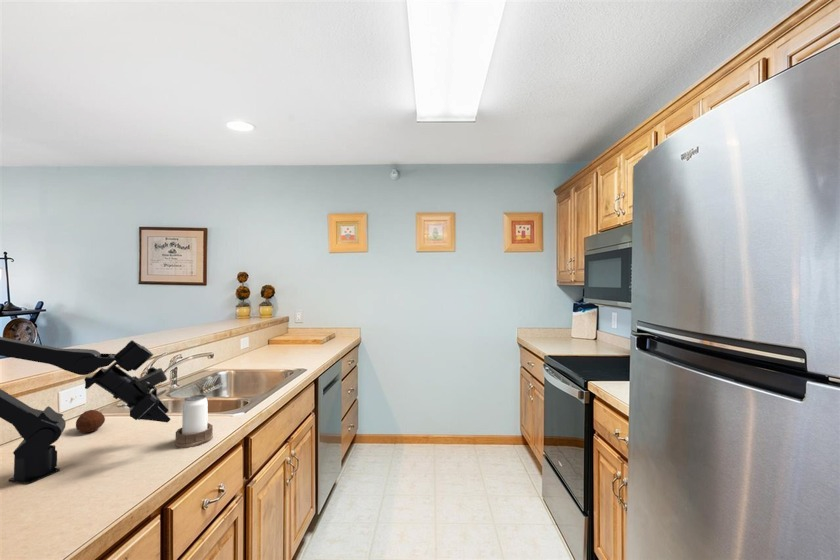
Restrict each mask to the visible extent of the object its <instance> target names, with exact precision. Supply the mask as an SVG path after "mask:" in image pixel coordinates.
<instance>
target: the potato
mask: <svg viewBox="0 0 840 560" xmlns="http://www.w3.org/2000/svg"><path fill="white" fill-rule="evenodd" d="M105 421H106V417H105V415H104V414H103V413H102V412H100V411H98V410H96V409H90V410H85V411H84V412H82V413H81V414H80V415H79V416H78V418H77V419H76V422H75V428H76V430H77V431H78V432H79V433H84V434H87V433H91V432H93V431H97V430H98V429H100V428H101V427H102V426H103V425H104V424H105Z"/></svg>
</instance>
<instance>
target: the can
mask: <svg viewBox="0 0 840 560" xmlns="http://www.w3.org/2000/svg"><path fill="white" fill-rule="evenodd" d="M208 408H209V406H208V399H207V396H206V395H205V394H194V395H190V396H187V397H184V401H183V403H182V414H181V415H182V421H181V425H182V426H181V428H182V434H186V435H187V434H195V433H199V432H202V431H205V430H207V423H208V418H209V417H208V414H209V413H208V412H209V411H208Z"/></svg>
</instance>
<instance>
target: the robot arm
mask: <svg viewBox="0 0 840 560" xmlns="http://www.w3.org/2000/svg"><path fill="white" fill-rule="evenodd" d="M0 356H1V357H6V358H7V357H8V358H12V359H17V360H24V361H30V362H37V363H42V364H47V365H51V366H53V367H57V368H59V369H61V370H64V371H66V372H69V373H73V374H76V375H79V376H85V377H84V383H85V385H84V390H85V389H89V388H90V387H91V386H93V385H94V384H95V385H97V386H99V387H100V388H102V389H104V390H105V391H106V392H108V393H110V394H111V395H112V397H113V398H114V399H115V400H117V399H119V400H120V401H121V402H123V403H124V404H126V407H128V408H129V417H130V418H132V419H133V420H135V421H137V420H139V421H140V420H143V421H152V422H161V423H169V422H170V421H171V417H169V415H168V414H167V413H168V412H169V409H168V407H166V405H165V404H164V403H163V402H162V400H160V398H159V397H158V396H157V395H158V390H157V387H156V386H157V385H159V384H162V383H164V382H166V381H167V380H168V377H167V375H166V373H165V372H164V370H163V369H162V368H161V367H159V368H156V367H154V366H151V367H149V368H148V369H147V372H146V374H145V375H143V376H142V377H140V378H139V377H137V376H136V375H135V376H131V375H130V374H128V373H127V372H131V371H134V372H136V371H137V370H138V369H139V368H140V367H141V366H143V365H144V364H145V363H146V362H147V361H149V359H151V358H152V357H153V356H154V353H152V352H151V351H150V350H149V349H148V348H147V347H145V346H144V345H141V344H139V343H138V342H136V341H134V340H133V339H132V340H130V341H129V342H127V344H126V345H125V346H124V347H122V348H121V349H120V350H119V351H118V352H116V353H100V352H99V351H98V350H97V349H88V348H87V349H86V348H63V347H62V348H60V347H54V346H50V345H45V344H40V343H34V342H30V341H24V340H18V339H13V338H7V337H3V336H0ZM105 367H107V368H105ZM98 369H99V370H98ZM94 372H95V373H94ZM93 373H94V374H93ZM90 374H93V375H91V376H88V375H90ZM63 417H64V414H63V413H59V412H57V411H55V410H54V409H53V408H52V407H50V406H49V405H48V406H47V407H45V408H44V410H42V409H37V408H32V407H31V406H29V405H28V404H26V403H25V402H23V401H21V400H20V399H18V398H16V397H15V396H14V395H11V394H9V393H8V392H6V391H5V390H3V389H1V388H0V418H1V419H2V420H4V421H5V422H7V423H9V424H11V425H12V426H13V427H14V429H15V430H16V431H17V432H18V434H19V436H20V437H21V438H22V439H23V440H22V441H20V443H19V444H18V445H17V447H16V448H15V449H14V451H13V452H12V454H13V456H14V457H13V459H14V460H13V461H14V463H13V476H12V477H10V478H8V482H11V483H19V484H27V485H28V484H31V483H33V482H36V481H38V480H41V479H43V478H45V477H47V476H50V475H52V474H55V473H57V472H60V470H61V468H60V467H57V466H58V450H56V445H54V443H55V442H57V441H58V440H59V439H60V437H61V435H62V434H63V432H64V431H65V429H66V420H65V419H64V418H63Z"/></svg>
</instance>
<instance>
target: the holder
mask: <svg viewBox="0 0 840 560" xmlns="http://www.w3.org/2000/svg"><path fill="white" fill-rule="evenodd" d="M213 438H214V437H213V424H211V423H208V422H207V430H205V431H202V432H199V433H195V434H187V435H186V434H182V427H180V428H178V429H177V430H176V431H175V439H174V440H175V441H174V445H175V447H177V448H180V449H181V448H183V449H184V448H194V447H198V446H202V445H205V444H206V443H209V442H210V441H212V440H213Z"/></svg>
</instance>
